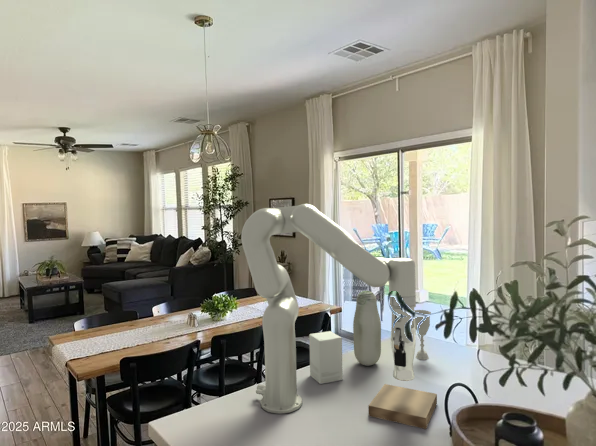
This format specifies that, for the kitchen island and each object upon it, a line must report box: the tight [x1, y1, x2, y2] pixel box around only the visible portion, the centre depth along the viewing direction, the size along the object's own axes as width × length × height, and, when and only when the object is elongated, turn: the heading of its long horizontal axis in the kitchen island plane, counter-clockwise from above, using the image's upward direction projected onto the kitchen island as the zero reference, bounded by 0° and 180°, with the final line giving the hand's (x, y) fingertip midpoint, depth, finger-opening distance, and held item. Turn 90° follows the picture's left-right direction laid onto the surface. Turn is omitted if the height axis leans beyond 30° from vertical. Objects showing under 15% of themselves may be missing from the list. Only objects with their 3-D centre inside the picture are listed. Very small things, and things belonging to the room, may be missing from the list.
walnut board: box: [367, 383, 438, 430], centre depth 120 cm, size 16×16×3 cm
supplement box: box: [308, 330, 344, 385], centre depth 144 cm, size 9×9×15 cm
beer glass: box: [390, 324, 416, 382], centre depth 120 cm, size 7×7×15 cm
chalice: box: [414, 309, 432, 361], centre depth 161 cm, size 7×7×18 cm
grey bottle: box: [352, 290, 382, 367], centre depth 155 cm, size 10×10×28 cm
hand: (403, 361), depth 120 cm, fingers closed on beer glass, 6 cm apart
